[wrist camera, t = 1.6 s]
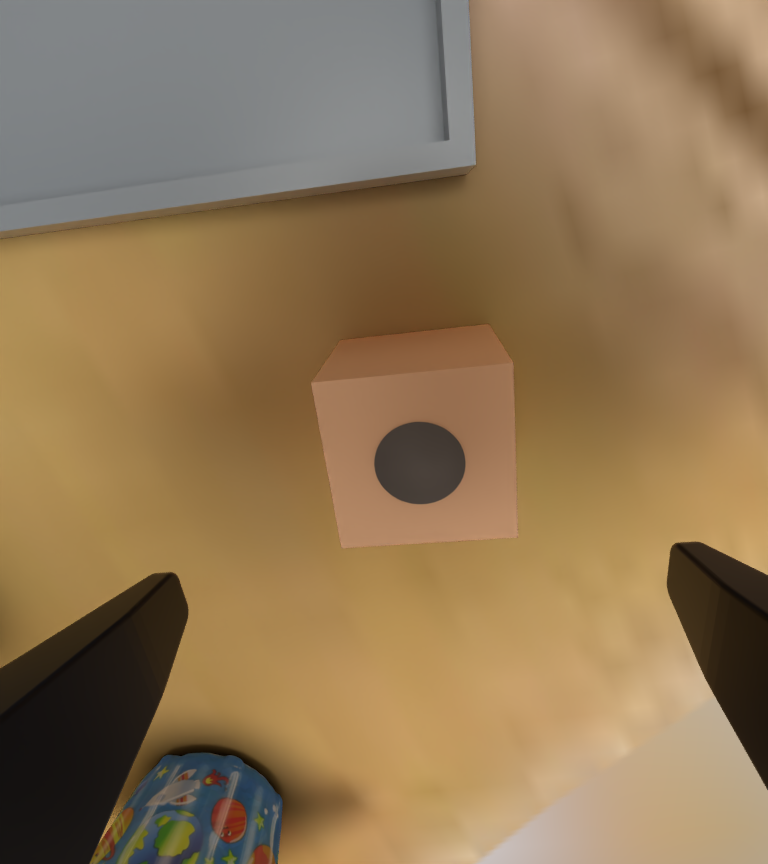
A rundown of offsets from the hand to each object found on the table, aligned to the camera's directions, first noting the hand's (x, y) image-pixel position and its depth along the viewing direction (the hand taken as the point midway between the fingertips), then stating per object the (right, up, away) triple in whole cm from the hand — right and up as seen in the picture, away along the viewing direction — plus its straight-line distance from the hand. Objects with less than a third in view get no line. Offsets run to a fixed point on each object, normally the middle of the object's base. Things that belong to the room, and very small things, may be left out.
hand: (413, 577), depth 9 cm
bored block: (+1, +4, +9) cm, 10 cm away
